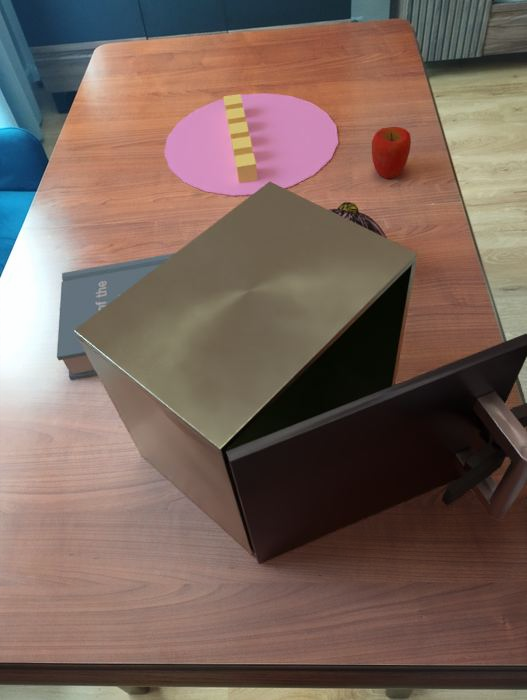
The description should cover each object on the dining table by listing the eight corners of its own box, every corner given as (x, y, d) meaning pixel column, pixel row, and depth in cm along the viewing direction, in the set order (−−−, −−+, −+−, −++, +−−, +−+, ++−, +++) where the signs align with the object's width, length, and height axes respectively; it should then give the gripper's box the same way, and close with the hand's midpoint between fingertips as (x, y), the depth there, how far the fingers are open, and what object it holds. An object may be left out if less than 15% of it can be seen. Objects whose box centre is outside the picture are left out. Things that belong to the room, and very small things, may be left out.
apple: (386, 156, 101) (390, 116, 95) (415, 171, 98) (421, 130, 92) (361, 173, 98) (364, 133, 92) (390, 188, 95) (395, 148, 89)
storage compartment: (393, 395, 71) (418, 253, 53) (252, 555, 61) (220, 449, 42) (282, 325, 80) (269, 180, 61) (141, 456, 69) (73, 330, 50)
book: (70, 379, 77) (56, 357, 73) (74, 292, 87) (62, 268, 83) (239, 348, 78) (235, 324, 74) (224, 265, 88) (219, 240, 84)
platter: (167, 209, 97) (163, 192, 94) (161, 107, 116) (157, 91, 114) (357, 179, 97) (358, 162, 95) (319, 83, 117) (319, 66, 114)
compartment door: (513, 528, 60) (596, 409, 42) (285, 631, 56) (265, 551, 38) (469, 464, 65) (526, 332, 46) (255, 555, 61) (225, 450, 42)
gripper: (761, 516, 51) (587, 678, 45) (555, 355, 63) (396, 465, 57) (818, 479, 45) (628, 659, 39) (579, 309, 57) (404, 426, 51)
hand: (490, 544), depth 48 cm, fingers open, 9 cm apart
